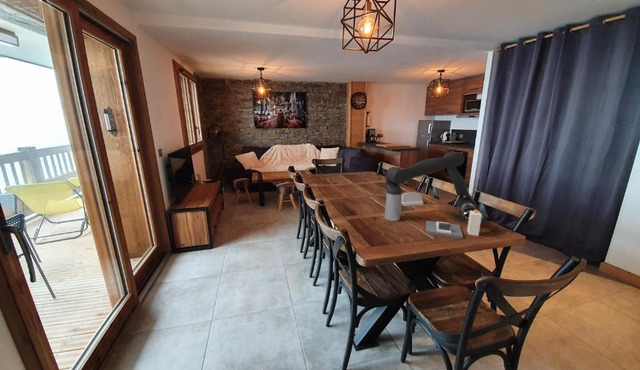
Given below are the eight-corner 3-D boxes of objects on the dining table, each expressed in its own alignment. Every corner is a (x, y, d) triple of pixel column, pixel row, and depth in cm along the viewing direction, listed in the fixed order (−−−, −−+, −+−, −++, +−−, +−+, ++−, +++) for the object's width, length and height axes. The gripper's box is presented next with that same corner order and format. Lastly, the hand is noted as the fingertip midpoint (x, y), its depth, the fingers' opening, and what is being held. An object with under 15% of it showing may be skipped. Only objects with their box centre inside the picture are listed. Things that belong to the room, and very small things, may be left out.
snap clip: (438, 228, 139) (439, 223, 138) (438, 227, 141) (438, 222, 140) (449, 230, 137) (450, 225, 136) (449, 228, 139) (450, 223, 138)
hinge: (403, 206, 184) (401, 192, 184) (400, 206, 188) (398, 192, 189) (424, 204, 186) (422, 191, 187) (420, 204, 191) (419, 191, 191)
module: (468, 234, 137) (472, 211, 134) (467, 230, 143) (470, 207, 139) (478, 235, 135) (482, 212, 132) (476, 231, 141) (479, 208, 137)
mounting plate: (426, 233, 139) (426, 229, 138) (426, 222, 153) (426, 219, 153) (462, 238, 132) (463, 235, 132) (459, 227, 147) (459, 223, 146)
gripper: (456, 203, 155) (460, 212, 140) (483, 206, 149) (490, 215, 135) (455, 214, 157) (458, 224, 142) (481, 217, 151) (487, 228, 137)
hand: (473, 220), depth 138 cm, fingers open, 8 cm apart
